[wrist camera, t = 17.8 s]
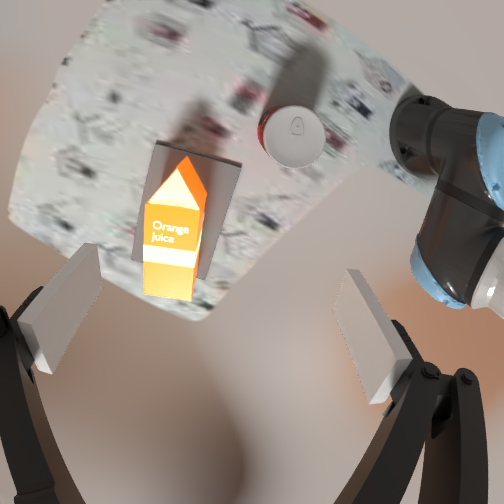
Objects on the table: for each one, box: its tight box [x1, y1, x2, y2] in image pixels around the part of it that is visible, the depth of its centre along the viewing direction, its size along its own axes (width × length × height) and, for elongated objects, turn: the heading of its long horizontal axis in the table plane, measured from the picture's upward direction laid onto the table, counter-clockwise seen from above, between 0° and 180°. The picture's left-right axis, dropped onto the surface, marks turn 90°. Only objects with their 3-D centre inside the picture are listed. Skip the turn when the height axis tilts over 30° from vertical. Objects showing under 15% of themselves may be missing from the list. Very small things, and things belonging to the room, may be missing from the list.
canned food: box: [258, 105, 326, 169], centre depth 38 cm, size 8×8×11 cm
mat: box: [131, 144, 241, 280], centre depth 48 cm, size 14×21×1 cm, turn 161°
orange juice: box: [143, 157, 207, 301], centre depth 44 cm, size 8×9×20 cm
